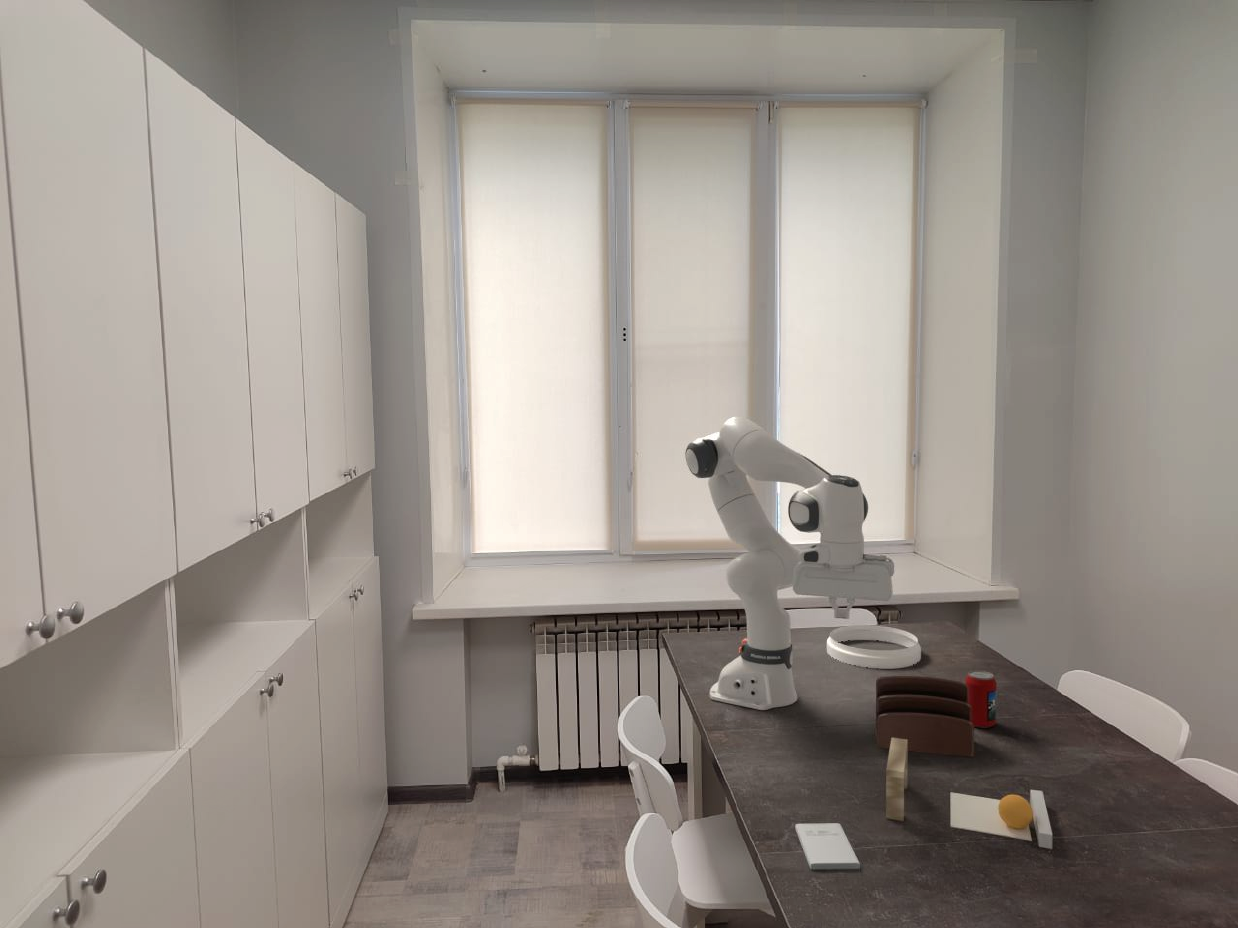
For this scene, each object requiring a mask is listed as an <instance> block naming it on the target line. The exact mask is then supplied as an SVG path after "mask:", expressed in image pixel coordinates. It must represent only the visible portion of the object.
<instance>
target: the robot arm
mask: <svg viewBox="0 0 1238 928" xmlns="http://www.w3.org/2000/svg"><path fill="white" fill-rule="evenodd" d="M685 461H686V465H687V467H688V469H689V471H690V473H691V474H692V475H693V476H695V477H697V478H698V479H707V480H708V481H707V483H708V484H707V485H708V489H709V492H710V495H711V500H712V502H713V504H714V509H716V512H717V514H718V516H719V519H720V521H721V523H722V525H723V528H724V529H725V531H726V534H727V535H728V538H729V539H730V540H731V541H733V542H734V543H736V544H738V545H740V546H741V547H743V548H744V549H746V551H747V552H745V553H743V554H741V555H739V556H737V557H735V558H734V559H732V560H730V561H729V563H728V564H727V566H726V569H725V570H726V571H725V579H726V583H727V586H728V587H729V588H730V591H732V592H733V593H734V594H735V595H737V597H738V598H739V599H740V600H741V602H742V605H743V608H744V611H745V617H746V638H744V639H743V640H741V643H740V645H739V648H738V653H739V656H738V657H736V658H734V659H733V660H731V661H730V662H729V663H727V664H726V665H724V667H723V668H722V670H721V671H720V673H719V677H718V681H717V682H716V683H714V684H713V685H711V688H710V690H709V698H710V699H711V700H713V701H716V702H717V701H718V702H722V703H726V704H731V705H736V706H739V707H741V706H742V707H745V708H749V709H750V708H751V709H754V710H759V711H766V710H769V709H773V708H779V707H781V708H782V707H786V706H789V705H792V704H794V703H795V702H797V701H798V695H797V692H796V688H795V683H794V678H793V670H792V669H793V668H792V667H793V664H794V650H793V644H792V643H791V642H792V641H791V640H792V639H791V638H792V637H791V616H790V613H789V612H788V610H786V609H785V608H783V607H782V606H781V605H780V602H779V598H778V591H780V590H784V589H788V588H792V591H793V592H794V594H796V595H798V596H799V595H801V596H811V597H812V596H813V597H826V598H828V602H829V603H828V604H830V607H831V608H832V609H833V610H834V611H833V614H834V615H833V616H834V618H835V619H846V620H849V619H850V611H851V609H852V608H853V606H854V604H855V602H856V600H865V601H866V600H867V601H880V602H881V601H882V602H888V601H890V599H892V597H893V582H892V581H893V580H892V577H893V575H894V573H895V563H894V561H893V559H891V558H889V557H887V556H886V555H884V554H883V555H874V554H865V536H864V533H863V523H865V521H866V518H867V516H868V513H869V512H868V511H869V503H868V499H867V497H866V495H865V493H864V492H863V489H862V485H861V483H860V481H858V480H857V479H856V478H854V477H852V476H847V475H840V474H831V473H830V472H829V471H827V470H825V469H824V468H823V467H821V466H820V465H818V464H817V463H815V462H814V461H813V460H811V459H809V458H808V457H806V456H805V455H802V454H801V453H799V452H797V451H795V450H794V449H791V448H790V447H789V446H786V445H785V444H784V443H782V442H780V441H779V440H777V439H776V438H775V437H774V436H772V435H771V434H770V433H769V432H767V431H766V430H765V429H764V428H763V427H761V426H760V425H759V424H757V423H756V422H754V421H753V420H751V419H749V418H746V417H744V416H733V417H730V418H729V419H727V420H725V422H724V423H723V424H722V426H721V427H720V429H719V431H716V432H714V433H711V434H709V435H706V436H703V437H698V438H695V439H694V440H692V441H691V442H690V443H688V445H687V446H686V449H685ZM747 476H748V477H750V478H752V479H753V480H755V481H761V482H773V483H775V482H776V483H785V484H786V483H787V484H792V485H797V486H800V487H801V488H804V489H801V490H797V491H796V492H794V494H792V495H791V497H790V499H789V501H788V507H787V508H788V509H787V514H788V518H789V521H790V523H791V525H792V526H793V528H795V529H796V530H797V531H799V532H803V533H807V534H809V533H810V534H811V533H820V539H819V540H820V543H817V544H814V545H812V544H811V545H809V546H808V545H807V546H806V547H803V548H802V549H801V548H799V547H797V546H794V545H793V544H792V543H790V542H789V541H787V540H786V538H784V536H782V535H781V533H780V532H779V531H778V530H776V528H775V526H774V525H772V523H771V522H770V520H769V519H768V517H767V515H766V513H765V512H764V510H763V507H762V506H761V504H760V502H759V500H758V497H757V496H756V493H755V492H754V490H753V488H752V486H751V484H750V482H749V481H748V477H747ZM838 598H839V599H846V603H847V604H848V606H847V607H846V608H841V607H839V606H838V604H837V599H838Z"/></svg>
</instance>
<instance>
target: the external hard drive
mask: <svg viewBox="0 0 1238 928" xmlns="http://www.w3.org/2000/svg"><path fill="white" fill-rule="evenodd" d="M794 828H795V829H794V830H795V832H796V835H797V837H798V840H799V842H800V845H801V847H802V849H803V854H804V856H805V858H806V861H807V864H808V866H809V869H810V870H860V869H861V863H860V861H859V860H858V857H857V855H856V854H855V851H854V849H853V846H852V845H851V843H850V841H849V840H848V837H847V835H846V834H845V831H844V829H843V827H842V824H841V823H838V822H837V823H835V822H833V823H796V824H795V827H794Z"/></svg>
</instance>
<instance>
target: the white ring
mask: <svg viewBox="0 0 1238 928" xmlns="http://www.w3.org/2000/svg"><path fill="white" fill-rule="evenodd" d="M848 640H850V641H876V640H879V641H878V642H885V641H886V642H885V643H891V644H896V645H900V646H903V647H905V648H900V649H892V650H891V649H885V650H883V649H882V650H881V649H866V648H860V647H854V646H851V645H847V644H843V643H842V642H841V641H843V642H848ZM838 642H839V643H838ZM826 653H827V655H828V654H829V655H830V656H831V658H832V657H833V658H834V660H835V659H837V660H839V661H838V662H840V661H841V663H843V662H844V663H843V664H846V663H847V665H849V664H851V665H850V666H854V665H856V666H855V667H859V666H860V668H866V667H868V669H877V668H878V669H881V670H882V669H884V670H885V669H886V670H889V669H891V670H892V669H902V668H907V667H911V666H914V665H916V664H918V663H919V662H920V661H921V659H922V647H921V645H920V644H919V640H918V637H917V636H915V634H913V633H911V632H909V631H906V630H903V629H900V628H899V629H898V628H895V627H889V626H883V625H872V624H855V625H854V624H852V625H846V626H845V625H844V626H841V627H838V628H836V629H833V630H832V631H831V632H830V633H829V637H828V638H827V639H826ZM829 655H828V656H829ZM830 656H829V657H830ZM833 658H832V659H833ZM837 660H836V661H837ZM917 662H918V663H917ZM913 664H914V665H913Z"/></svg>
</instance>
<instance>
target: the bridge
mask: <svg viewBox="0 0 1238 928" xmlns="http://www.w3.org/2000/svg"><path fill="white" fill-rule="evenodd" d="M907 742H908V740H906V739H899V738H891V744H890V749H888V750H889V751H888V755H887V764H886V767H885V768H886V769H885V775H886V776H885V779H886V780H885V781H886V782H885V796H886V797H885V819H891V820H896V821H900V822H901V821H902V822H904V818H905V811H904V810H905V790H907V789H908V751H907Z"/></svg>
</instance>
